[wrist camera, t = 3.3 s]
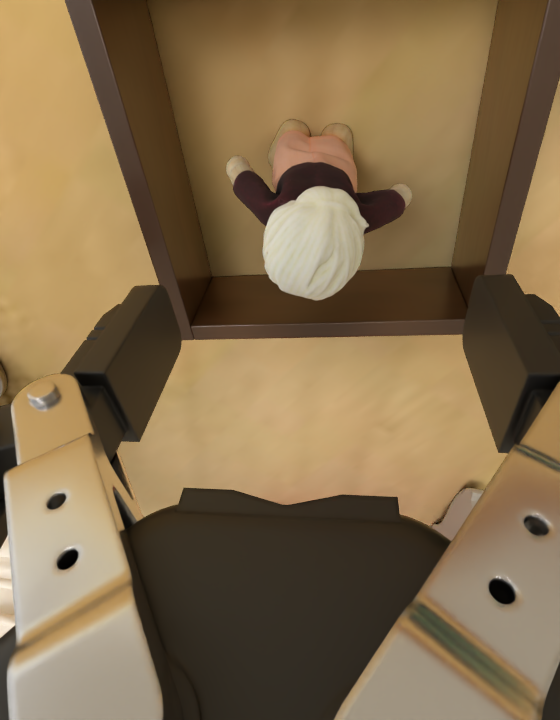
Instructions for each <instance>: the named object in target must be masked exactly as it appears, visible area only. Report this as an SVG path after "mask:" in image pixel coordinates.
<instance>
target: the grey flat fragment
mask: <svg viewBox="0 0 560 720" xmlns="http://www.w3.org/2000/svg"><path fill="white" fill-rule="evenodd" d="M483 492H484V490H480V489H474V488H467V489H466V488H465V489H463V490H461V492H459V494H457V496H455V498H454V500H453V501H452V502H451V505H450V508H448V511H447V513H446V516H445V518H444V520H442V522H441V523H440V524H439V525H438V524H433V526H431V528H433V529H435V530H437V531H438V532H440V533H441V534H442V535H444V536H445V537H447V538H448V539H450V540H451V541H452V540H453V538H454V537H455V535H456V534H457V532H458V530H459V529H460V527H461V526H462V524H463V523H464V521H465V520H466V518H467V517H468V515H469V513H470V512H471V510H472V509H473V507H474V506H475V504H476V503H477V501H478V500H479V498H480V496H481V495H482V493H483Z"/></svg>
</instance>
